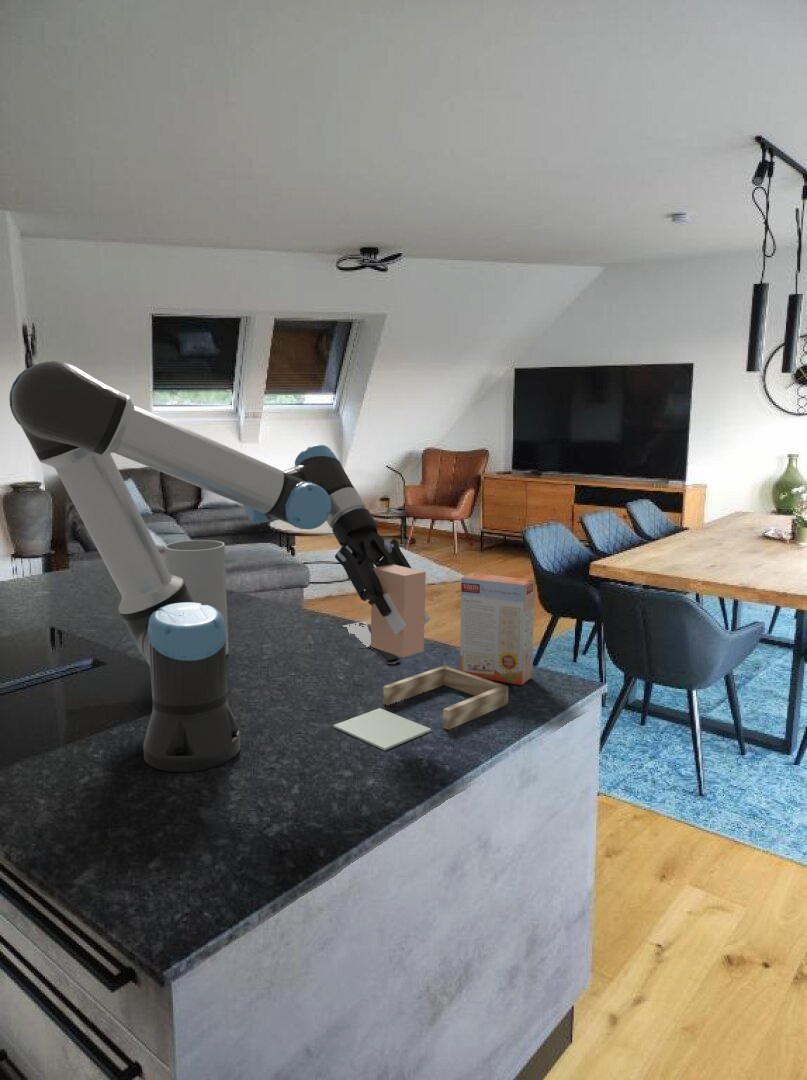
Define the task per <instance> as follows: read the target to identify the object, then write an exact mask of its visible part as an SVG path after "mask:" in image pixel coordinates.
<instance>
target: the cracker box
mask: <svg viewBox="0 0 807 1080" xmlns="http://www.w3.org/2000/svg"><path fill="white" fill-rule="evenodd" d="M535 581H536V579H527V578H519V577H511V576H504V575H495V574H493V575H492V574H487V573H486V574H485V573H478V572H472V573H469V574H467V575H464V576H463V577H461V584H460V585H461V587H460V588H461V591H460V593H461V594H460V643H459V645H460V646H459V654H460V655H459V656H460V657H459V671H462V672H465V673H468V674H471V675H474V676H478V677H481V678H484V679H487V680H490V681H494V682H495V681H496V682H502V683H507V684H512V685H517V686H523V685H524V684H525V683H527V682H528V681H529V680H530V679H532V678H533V657H534V656H533V654H534V620H535Z"/></svg>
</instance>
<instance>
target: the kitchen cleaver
mask: <svg viewBox="0 0 807 1080" xmlns="http://www.w3.org/2000/svg"><path fill="white" fill-rule="evenodd" d="M359 623H363V624H366V625H362V624H359ZM355 624H356V625H355ZM349 625H350V626H349ZM359 625H361V626H359ZM367 625H368V622H367V621H359V622H355V623H354V622H353V623H348V624H344V625H342V626H343V627H347V629H348V632H349V634H350V633H351V634H355V636H356V637H357V638H359V640H360V641H361V642H363V643H362V644H364V645H366V647H369V648H371V649H373V650H372V651H374V650H375V651H376V652H377V653H378V654H379V655H380V656H379V655H378V654H377V653H376V652H375V651H374V652H375V653H376V654H377V655H378V656H379V657H380V658H381V659H382V660H384V662H385V663H388V664H392V665H394V664H393V663H398V664H399V663H400V662H401V657H400V656H397V655H394V654H391V653H388V652H385V651H382V650H379V649H376V648H374V647H371V630H369V625H368V626H367ZM362 626H364V627H362ZM369 648H368V649H369ZM371 649H370V650H371ZM388 664H387V665H388Z"/></svg>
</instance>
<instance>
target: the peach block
mask: <svg viewBox="0 0 807 1080" xmlns="http://www.w3.org/2000/svg"><path fill="white" fill-rule="evenodd" d="M374 567H375V568H373V570H374V572H375V573H376V575H377V577H378V579H379V582H380V585H381V587H382V590H383V594H382V595H384V594H387V593H388V594H389V596H390V598H391V599H392V601H393V603H394V604H395V606H396V608H397V609H398V611H399V613H400V615H401V616H402V618H403V620H404V621H405V623H406V625H407V626H406V627H405V628H404V629H403V630H402V631H401V632H400V633H399V634H396V635H395V633H394V632H393V630H392V628H391V626H390V625H389V623H388V621H387V620H386V618H385V617H383V616H382V615H381V613H380V611H379V610H378V608H377V606H376V605H375V603H374V604H373V605H370V606H371V607H370V608H371V609H370V612H371V613H370V614H371V615H370V633H371V647H374V648H376V649H379V650H382V651H385V652H388V653H391V654H394V655H396V656H397V657H399V658H406V657H410V656H413V655H416V654H419V653H422V652H425V625H424V615H425V611H426V610H425V609H426V608H425V607H426V571H424V570H420V569H416V568H412V567H411V568H412V569H411V568H407V567H402V566H398V565H386V566H381V567H376V566H374Z"/></svg>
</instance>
